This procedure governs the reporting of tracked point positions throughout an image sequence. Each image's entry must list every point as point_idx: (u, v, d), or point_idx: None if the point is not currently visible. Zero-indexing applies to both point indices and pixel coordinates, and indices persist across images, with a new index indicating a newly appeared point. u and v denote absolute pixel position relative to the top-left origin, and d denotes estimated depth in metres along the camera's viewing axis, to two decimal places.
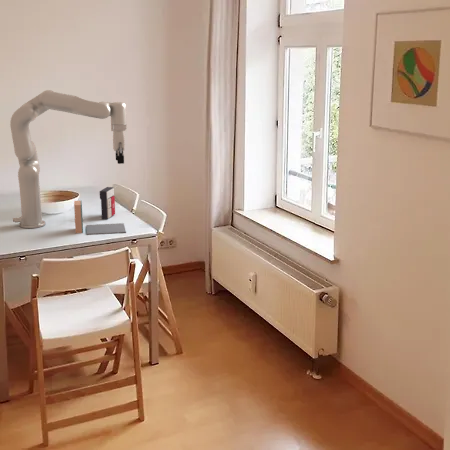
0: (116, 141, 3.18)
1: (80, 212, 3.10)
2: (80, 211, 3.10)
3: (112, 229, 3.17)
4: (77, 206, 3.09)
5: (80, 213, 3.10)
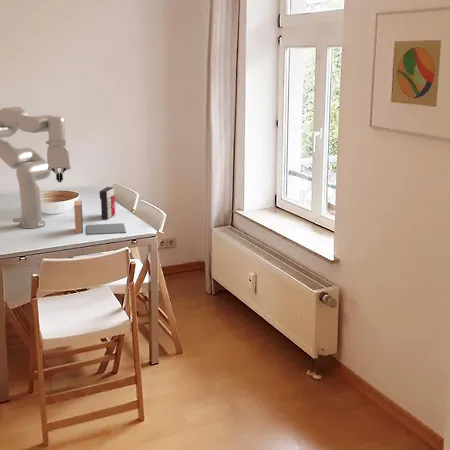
0: (68, 156, 3.04)
1: (80, 212, 3.10)
2: (80, 211, 3.10)
3: (112, 229, 3.17)
4: (77, 206, 3.09)
5: (80, 213, 3.10)
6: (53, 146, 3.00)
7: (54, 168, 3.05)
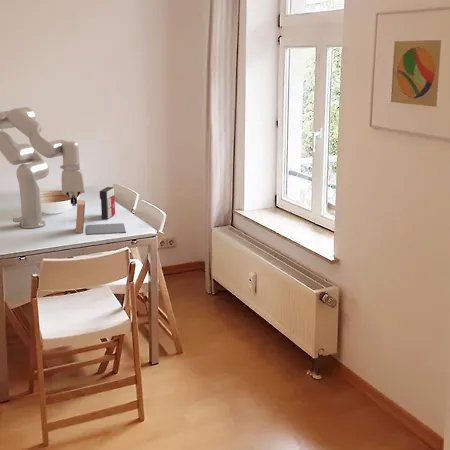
0: (82, 180, 3.09)
1: (82, 212, 3.10)
2: (83, 211, 3.10)
3: (112, 229, 3.17)
4: (80, 206, 3.09)
5: (82, 213, 3.10)
6: (67, 171, 3.05)
7: (68, 192, 3.09)
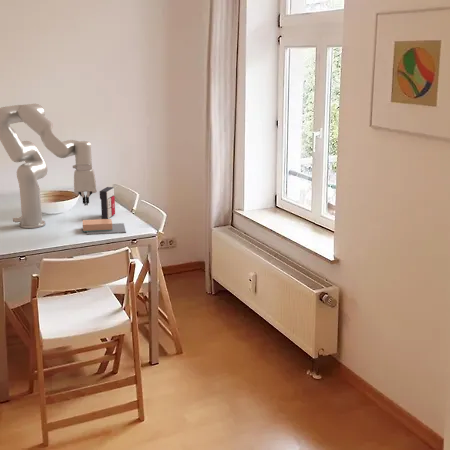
0: None
1: (104, 229, 3.15)
2: (105, 229, 3.15)
3: (112, 229, 3.17)
4: (110, 226, 3.15)
5: (103, 229, 3.14)
6: (80, 170, 3.06)
7: (81, 191, 3.10)
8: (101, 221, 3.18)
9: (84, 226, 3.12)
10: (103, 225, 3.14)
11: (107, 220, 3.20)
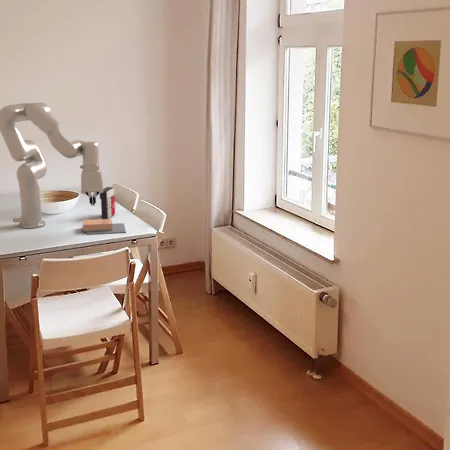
0: None
1: (104, 229, 3.15)
2: (105, 229, 3.15)
3: (112, 229, 3.17)
4: (110, 226, 3.15)
5: (103, 229, 3.14)
6: (87, 171, 3.07)
7: (88, 192, 3.11)
8: (101, 221, 3.18)
9: (84, 226, 3.12)
10: (103, 225, 3.14)
11: (107, 220, 3.20)
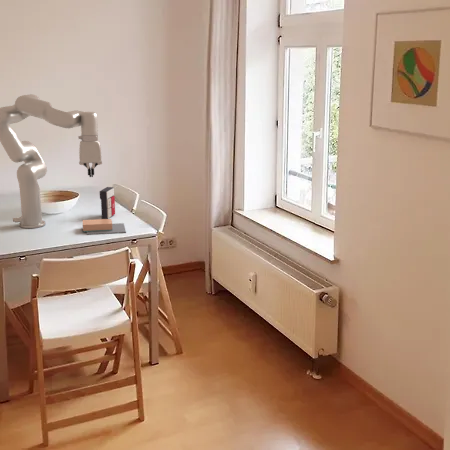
0: (100, 151, 3.07)
1: (104, 229, 3.15)
2: (105, 229, 3.15)
3: (112, 229, 3.17)
4: (110, 226, 3.15)
5: (103, 229, 3.14)
6: (86, 141, 3.03)
7: (86, 163, 3.07)
8: (101, 221, 3.18)
9: (84, 226, 3.12)
10: (103, 225, 3.14)
11: (107, 220, 3.20)
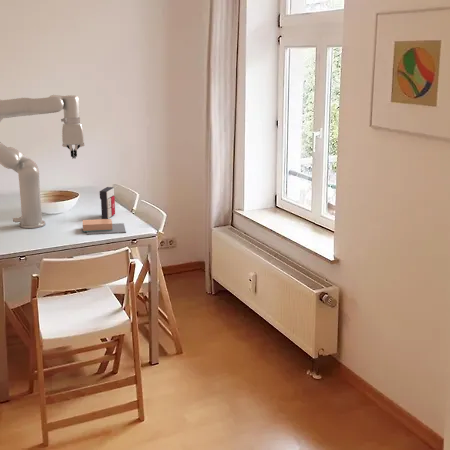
0: (82, 133, 3.19)
1: (104, 229, 3.15)
2: (105, 229, 3.15)
3: (112, 229, 3.17)
4: (110, 226, 3.15)
5: (103, 229, 3.14)
6: (68, 123, 3.14)
7: (69, 145, 3.19)
8: (101, 221, 3.18)
9: (84, 226, 3.12)
10: (103, 225, 3.14)
11: (107, 220, 3.20)
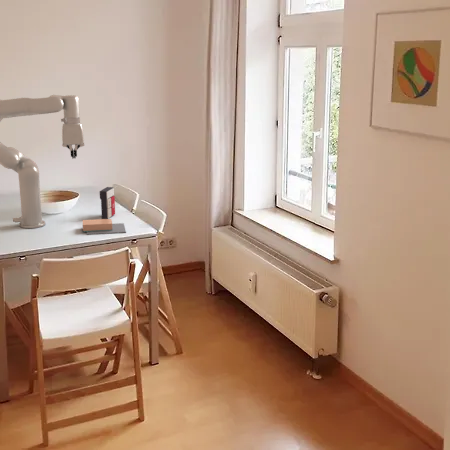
0: (82, 133, 3.19)
1: (104, 229, 3.15)
2: (105, 229, 3.15)
3: (112, 229, 3.17)
4: (110, 226, 3.15)
5: (103, 229, 3.14)
6: (68, 123, 3.14)
7: (69, 145, 3.19)
8: (101, 221, 3.18)
9: (84, 226, 3.12)
10: (103, 225, 3.14)
11: (107, 220, 3.20)
